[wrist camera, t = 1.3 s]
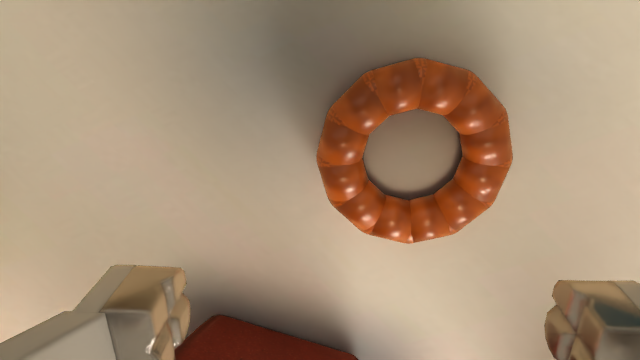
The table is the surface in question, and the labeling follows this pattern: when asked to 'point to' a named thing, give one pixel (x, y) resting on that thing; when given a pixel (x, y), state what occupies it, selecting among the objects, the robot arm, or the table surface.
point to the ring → (400, 96)
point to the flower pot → (249, 344)
